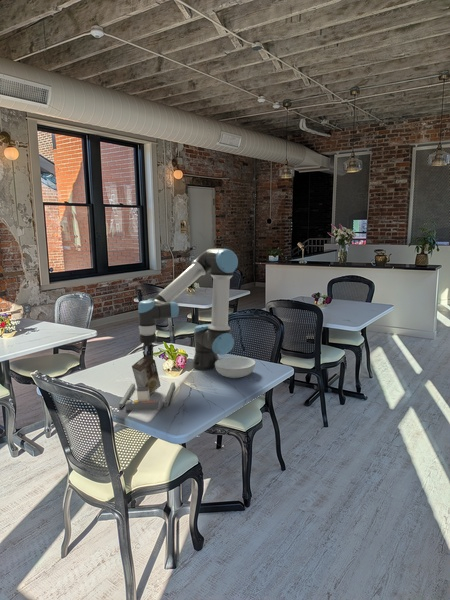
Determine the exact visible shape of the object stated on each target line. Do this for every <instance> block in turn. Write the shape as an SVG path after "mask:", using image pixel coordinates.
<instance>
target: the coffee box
mask: <svg viewBox="0 0 450 600" xmlns="http://www.w3.org/2000/svg"><path fill="white" fill-rule="evenodd" d="M131 368H132V372H133V376H134V380H135V386H136V389H137V388H138V387H149V395H150V396H151V395H152V394H153V393H154V392H155V391H157V389H159V388H160V387H161V382H160V377H159V373H158V368H157V363H156V360H155V359H154V358H153V359H152V358H150V357H148V356H144V355H143V356H142V358H140V359H139V360H138V361H137V362H135V363H133V364H132V365H131Z"/></svg>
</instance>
